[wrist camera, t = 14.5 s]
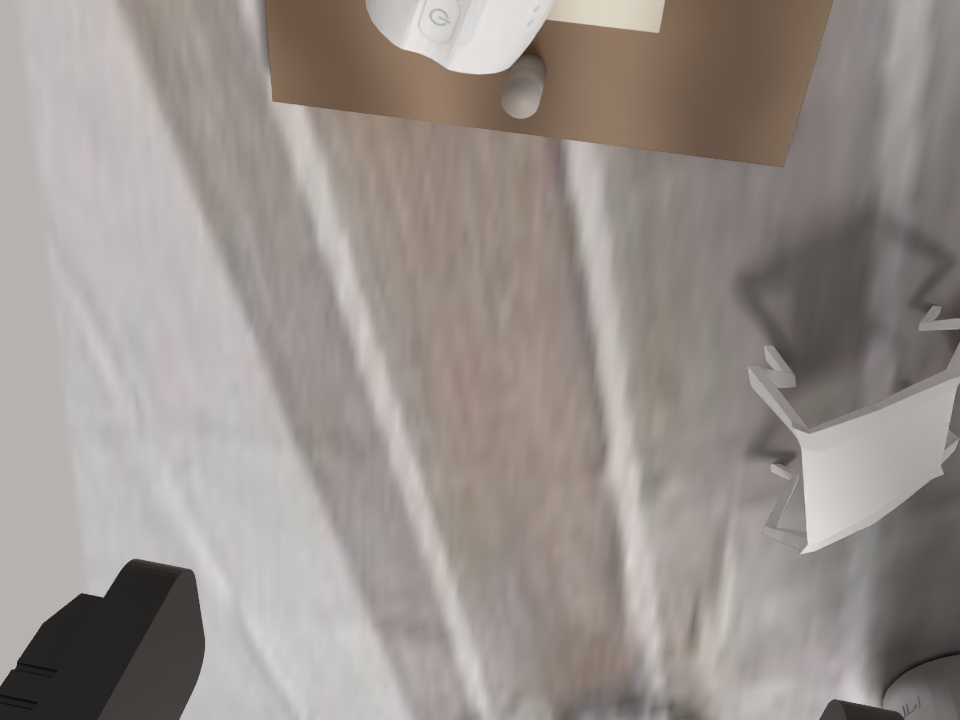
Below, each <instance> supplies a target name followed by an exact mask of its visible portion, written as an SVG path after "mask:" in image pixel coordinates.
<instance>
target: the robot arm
mask: <svg viewBox="0 0 960 720" xmlns="http://www.w3.org/2000/svg"><path fill="white" fill-rule="evenodd" d="M204 651H205V636H204V630H203V623H202V617H201V611H200V604H199V598H198V591H197V585H196V579H195V575H194V572H193V571H192V570H190V569H186V568H181V567H176V566H171V565H166V564H160V563H155V562H150V561H145V560H140V559H133V560H131V561H129V562H128V563H127V564H126V565H125V566H124V567H123V568H122V570H121V571H120V573H119V574H118V576H117V577H116V579H115V581H114V582H113V584H112V585H111V587H110V589H109V590H108V592H107V593H106V595H105V596H104V598H103V597H98V596H93V595H88V594H83V593H81V594H80V595H78V596H77V597H76V598H75V599H73V600H72V601H71V602H69V603H68V604H67V605H66V606H64V607H63V608H62V609H61V610H59V611H58V612H57V613H56V614H54V615H53V616H52V617H51V618H49V619H48V620H47V621H46V622H44V623H43V624H42V626H41V627H40V629H39V630H38V632H37V633H36V635H35V636H34V638H33V639H32V641H31V642H30V643H29V645H28V647H27V648H26V649H25V651H24V652H23V654H22V655H21V657H20V658H19V660H18V661H17V666H16V668H15V669H14V670H11V671H10V673H9V675H8V676H7V677H6V679H5V680H4V682H3V683H2V685H1V686H0V720H179V719H180V717H181V715H182V713H183V711H184V709H185V706H186V704H187V702H188V700H189V698H190V696H191V694H192V692H193V690H194V687H195V685H196V683H197V680H198V677H199V674H200V671H201V667H202V663H203V658H204ZM819 720H960V655H954V656H949V657H944V658H940V659H936V660H933V661H930V662H927V663H924V664H922V665H920V666H918V667H916V668H914V669H912V670H910V671H907V672H906V673H905V674H903V675H902V676H901V677H899V678H898V679H897V680H895V681H894V683H893V684H892V685H891V686H890V687H889V689H888V690H887V691H886V694H885V696H884V699H883V705H882V708H877V707H872V706H866V705H861V704H856V703H851V702H846V701H841V700H836V699H834V700H831V701H830V702H829V704H828V705H827V707H826V708H825V710H824V712H823V714H822V716H821V718H820V719H819Z"/></svg>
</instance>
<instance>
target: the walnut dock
mask: <svg viewBox="0 0 960 720" xmlns="http://www.w3.org/2000/svg"><path fill="white" fill-rule="evenodd" d="M832 3H833V0H556V1H555V3H554V5H553V7H552V9H551V11H550V13H549V15H548V16H547V18H546V20H545V22H544V23H543V25H542V27H541V28H540V30H539V31H538V33H537V34H536V36H535V37H534V39H533V40H532V42H531V43H530V44H529V46H528V47H527V48H526V49H525V51H524V52H523V53H522V54H521V56H520V57H519V58H518V59H517V60H516V61H515V62H514V63H513V64H512V66H511V67H510V68H508V69H506V70H504V71H501V72H498V73H492V74H467V73H460V72H456V71H451V70H448V69H447V68H445V67H443V66H442V65H440V64H439V63H437V62H436V61H434V60H433V59H431V58H429V57H427V56H424V55H422V54H419V53H416V52H412V51H408V50H404V49H401V48H399V47H397V46H396V45H394V44H393V43H391V42H390V41H389V40H388V39H387V38H386V37H385V36H384V35H383V34H382V33H381V32H380V31H379V30H378V28H377V27H376V26H375V24H374V23H373V22H372V20H371V18H370V15H369V13H368V11H367V8H366V0H265V5H266V18H267V32H268V45H269V58H270V72H271V85H272V99H273V102H281V103H289V104H297V105H304V106H312V107H320V108H328V109H335V110H343V111H351V112H359V113H366V114H374V115H382V116H390V117H397V118H405V119H413V120H421V121H428V122H436V123H444V124H452V125H459V126H467V127H475V128H483V129H490V130H498V131H506V132H514V133H521V134H529V135H537V136H545V137H552V138H560V139H568V140H576V141H583V142H591V143H599V144H607V145H614V146H622V147H630V148H638V149H645V150H653V151H661V152H669V153H676V154H684V155H692V156H700V157H707V158H715V159H723V160H731V161H738V162H746V163H754V164H762V165H769V166H777V167H784V163H785V160H786V157H787V153H788V150H789V147H790V143H791V140H792V136H793V133H794V130H795V126H796V123H797V120H798V116H799V113H800V110H801V106H802V103H803V100H804V96H805V93H806V90H807V86H808V83H809V80H810V76H811V73H812V70H813V66H814V63H815V60H816V56H817V53H818V50H819V46H820V43H821V40H822V36H823V33H824V30H825V26H826V23H827V20H828V16H829V13H830V10H831V6H832Z"/></svg>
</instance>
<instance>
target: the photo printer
mask: <svg viewBox="0 0 960 720" xmlns="http://www.w3.org/2000/svg"><path fill="white" fill-rule="evenodd" d="M555 1H556V0H366V8H367V11H368V13H369V15H370V18H371V20H372V22H373V23H374V24H375V26H376V27H377V28H378V30H379V31H380V32H381V33H382V34H383V35H384V36H385V37H386V38H387V39H388V40H389V41H390V42H391V43H393V44H394V45H396V46H397V47H399V48H401V49H404V50H408V51H412V52H416V53H419V54H422V55H424V56H427V57H429V58H431V59H433V60H434V61H436V62H437V63H439V64H440V65H442V66H443V67H445V68H447V69H448V70H451V71H456V72H460V73H467V74H492V73H498V72H501V71H504V70H506V69H508V68H510V67H511V66H512V64H513V63H514V62H515V61H516V60H517V59H518V58H519V57H520V56H521V54H522V53H523V52H524V51H525V49H526V48H527V47H528V46H529V44H530V43H531V42H532V40H533V39H534V37H535V36H536V34H537V33H538V31H539V30H540V28H541V27H542V25H543V23H544V22H545V20H546V18H547V16H548V15H549V13H550V11H551V9H552V7H553V5H554V3H555Z"/></svg>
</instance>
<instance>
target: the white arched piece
mask: <svg viewBox="0 0 960 720" xmlns="http://www.w3.org/2000/svg"><path fill="white" fill-rule="evenodd" d="M941 308H942V307H940V306H932V307H931V309H930V310H929V311H928V313H927V314H926V315H925V317H924V318H923V319H922V321H921V322H920V324H919V329H918V331H933V330H953V329H960V318H955V319H946V320H937V321H934V319H935V318H936V317H937V316H938V315H939V314H940V311H941ZM764 350H765V358H766V361H767V362H768V364H769V365H770V366H771V367H772V368H773V370H771V369H767V368H762V367H757V366H750V365H747V368H748V374H749V379H750V385H751V387H752V388H753V389H754V390H755V391H756V392H757V393H758V395H759V396H760V397H761V398H762V399H763V400H764V401H765V402H766V403H767V405H768V406H769V407H770V408H771V409H772V410H773V411H774V412H775V413H776V415H777V416H778V417H779V418H780V419H781V420H782V421H783V422H784V424H785V425H786V426H787V427H788V428H789V429H790V430H791V431H792V433H793V434H794V435H795V436H796V437H797V439H798V441H799V444H800V446H801V453H802V469H803V485H804V500H805V516H806V532H807V533H806V532H800V531H794V530H787V529H781V528H777V526H778V523H779V521H780V519H781V517H782V515H783V513H784V511H785V508H786V506H787V504H788V502H789V500H790V498H791V496H792V493H793V491H794V489H795V487H796V485H797V483H798V480H799V473H797V472H795V471H793V470H791V469H789V468H788V467H786V466H784V465H782V464H772V465H771V472H773V473H775V474H777V475H779V476H781V477H783V478H785V479H787V480H789V483H788V485H787V487H786V489H785V490H784V492H783V494H782V496H781V497H780V499H779V501H778V503H777V505H776V506H775V508H774V510H773V512H772V513H771V515H770V517H769V519H768V521H767V522H766V524H765V526H764V528H763V531H762V534H764V535H766V536H768V537H770V538H772V539H774V540H777V541H779V542H781V543H784V544H786V545H789V546H792V547H795V548H798V549H799V554H804V553H809V552H814V551H816V550H819V549H821V548H823V547H825V546H827V545H829V544H831V543H834V542H836V541H838V540H840V539H842V538H844V537H847V536H849V535H851V534H853V533H855V532H857V531H860V530H862V529H864V528H866V527H868V526H870V525H873V524H875V523H876V522H877V521H879V520H880V519H881V518H883V517H884V516H885V515H887V514H888V513H889V512H891V511H892V510H893V509H895V508H896V507H898V506H899V505H900V504H902V503H903V502H904V501H905V500H907V499H908V498H909V497H910V496H912V495H913V494H914V493H915V492H917V491H918V490H919V489H920V488H922V487H923V486H924V485H925V484H927V483H928V482H929V481H930V480H932V479H933V478H936V477H939V476H942V475H944V473H943V470H942V467H941V464H942V463H943V462H944V461H945V460H946V459H947V458H948V457H949V456H950V455H951V454H952V453H953V452H954V451H955V449H956V447H957V444H958V441H959V437H958V436H956V435H955V434H954V433H953V432H951V431H950V430H949V424H950V419H951V414H952V409H953V404H954V399H955V394H956V389H957V387H958V385H959V384H960V343H959V345H958V347H957V349H956V350H955V352H954V354H953V356H952V358H951V360H950V362H949V364H948V366H947V368H946V370H944V371H942V372H940V373H938V374H935V375H933V376H931V377H929V378H927V379H924V380H922V381H920V382H918V383H916V384H913V385H911V386H909V387H907V388H905V389H903V390H901V391H899V392H897V393H895V394H893V395H891V396H888V397H886V398H884V399H882V400H880V401H878V402H876V403H874V404H871V405H868V406H866V407H863V408H861V409H858V410H855V411H853V412H850V413H848V414H845V415H842V416H840V417H837V418H835V419H832V420H830V421H827V422H824V423H822V424H819V425H817V426H814V427H811V428H808V427H807V426H806V425H805V423H804V422H803V421H802V419H801V418H800V417H799V415H798V414H797V413H796V412H795V410H794V409H793V408H792V406H791V405H790V404H789V402H788V401H787V400H786V399H785V397H784V396H783V395H782V394H781V392H780V391H779V390H778V388H790V387H796V383H795V375H794V373H793V372H792V371H791V369H790V368H789V366H788V365H787V364H786V362H785V361H784V360H783V358H782V357H781V356H780V354H779V353H778V352H777V350H776V349H775V347H774V346H764Z"/></svg>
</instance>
